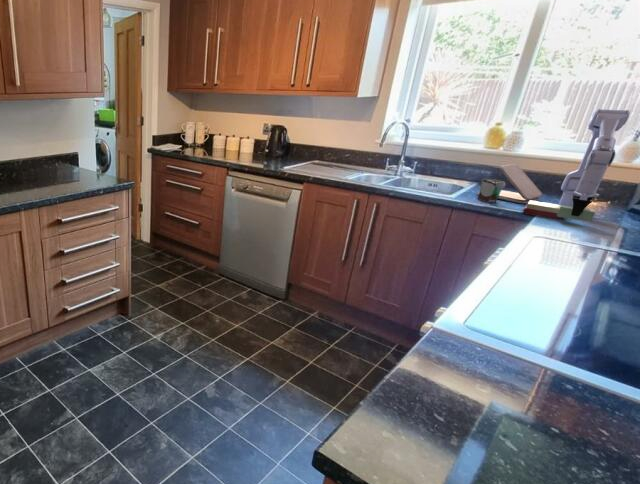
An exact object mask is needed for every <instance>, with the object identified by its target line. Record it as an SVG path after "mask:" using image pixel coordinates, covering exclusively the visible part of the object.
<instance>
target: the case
mask: <svg viewBox="0 0 640 484" xmlns="http://www.w3.org/2000/svg"><path fill="white" fill-rule="evenodd" d="M499 169H500V172H501V173H502V174H503V175H504V177H505V178H506V179H507V181H508V182H509V183H510V184H511V185H512V187H513V188H514V189H515V190H516V192H513V191H511V190H503V189H502V190H501V192H500V194H499V196H498V198H497V200H501V201H506V202H512V203H516V204H528V202H529V200H532V201H539V200H540V198H542V197H543V193H542V191H541V190H540V189H539V188H538V187H537V186H536V184H534V182H533V181H532V180H531V178H529V176H528V175H527V174H526V173H525V172H524V170H523V169H522V168H521V167H520V166H519V165H518V164H516V163H511V164H509V163H508V164H505V165H501V166H500V167H499ZM476 195H477V196H478V195H479V192H477V193H476Z"/></svg>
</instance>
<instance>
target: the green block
mask: <svg viewBox="0 0 640 484" xmlns="http://www.w3.org/2000/svg"><path fill="white" fill-rule="evenodd" d="M572 209H573V207H570V206H564V205H561V207H560V209H559V211H558V214H557V216H558V217H564V219H570V220H575V221H576V220H577V221H582V222H589V223H591V222H592V221H593V218H594V217H595V214H596V210H595V209H590V208H585V209H584V210H583V212H582V213H581V214H580V215H579V216H572V215H571V214H572Z"/></svg>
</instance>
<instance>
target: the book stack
mask: <svg viewBox="0 0 640 484" xmlns="http://www.w3.org/2000/svg"><path fill="white" fill-rule="evenodd" d="M560 207H561V205H558V204H557V203H550V202H543V201H539V200H536V201H532V200H529V202H528V203H526V205H525V207H524V209H523V212H522V214H523V215H530V216H536V217H541V218H546V219H547V218H548V219H552V220H553V219H554V220H559V221H564V220H565V218H564V217H558V216H557V214H558V211H559V209H560Z"/></svg>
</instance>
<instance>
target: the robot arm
mask: <svg viewBox="0 0 640 484" xmlns="http://www.w3.org/2000/svg"><path fill="white" fill-rule="evenodd" d="M630 114H631V111H630V110H629V109H624V110H623V109H608V108H607V109H605V108H604V109H603V108H596V109H595V110H594V111H593V113H592V115H591V118H590V121H589V123H588V125H587V129H588V130H590V131H591V132H592V133H591V138H590V140H589V143H588V144H587V147H586V149H585V152H584V155H583V156H582V159H581V161H580V164H579V166H578V169H576V170H573V171H570V172H568V173H567V174H566V176H565V178H564V179H563V181H562V183H561V187H560V190H561V191H562V194H561V196H560V200H559V202H558V204H557V205H564V206H570V207H573V209H572V214H571V215H572V216H579V215H580V214H581V213H582V212H583V210H584V209H587V207H588V206H589V205H590V204H592V202H593V197H599V196H600V193H597V191H598V189H599V187H600V185H601V183H602V180H603V178H604V176H605V173H606V172H607V169H608V168H609V167H610V166H611V165H612V163H613V162H614V160H615V157H616V149H615V145H616V143H617V142H616V140H617V139H616V138H615V137H614V134H615V132H618V131H619V130H620V129H622V128H623V127H624V126H625V125H626V123H627V121H628V120H629V117H630Z"/></svg>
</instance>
